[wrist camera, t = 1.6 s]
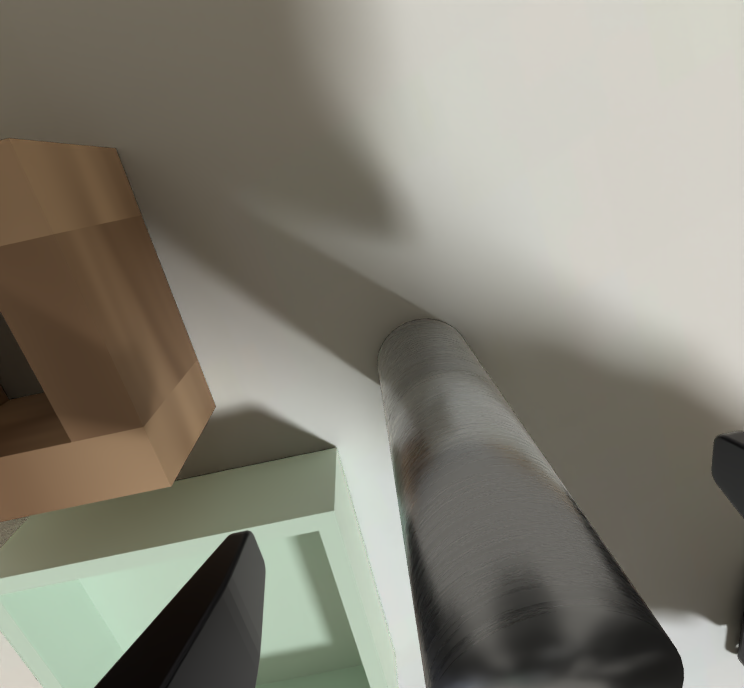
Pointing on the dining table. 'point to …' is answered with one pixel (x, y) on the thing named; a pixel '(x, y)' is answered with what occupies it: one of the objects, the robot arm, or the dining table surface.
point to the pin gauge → (502, 539)
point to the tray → (181, 561)
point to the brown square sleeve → (88, 336)
